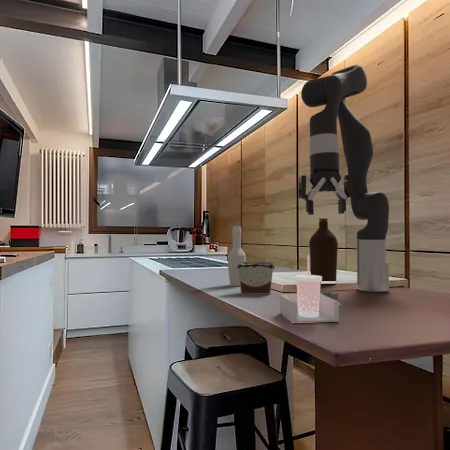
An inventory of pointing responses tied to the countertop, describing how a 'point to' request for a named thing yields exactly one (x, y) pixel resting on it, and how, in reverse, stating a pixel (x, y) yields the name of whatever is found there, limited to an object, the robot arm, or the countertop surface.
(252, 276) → the food container
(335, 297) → the clip
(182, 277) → the countertop surface
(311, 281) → the beverage cup
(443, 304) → the countertop surface
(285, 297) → the tray
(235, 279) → the faceted bottle
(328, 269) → the olive oil
